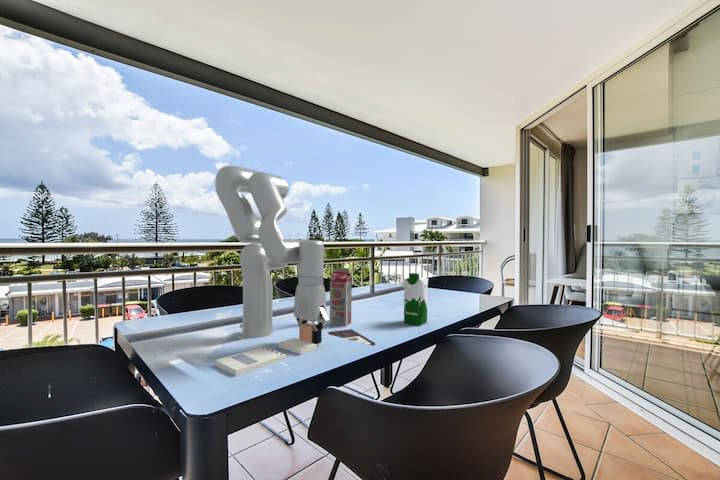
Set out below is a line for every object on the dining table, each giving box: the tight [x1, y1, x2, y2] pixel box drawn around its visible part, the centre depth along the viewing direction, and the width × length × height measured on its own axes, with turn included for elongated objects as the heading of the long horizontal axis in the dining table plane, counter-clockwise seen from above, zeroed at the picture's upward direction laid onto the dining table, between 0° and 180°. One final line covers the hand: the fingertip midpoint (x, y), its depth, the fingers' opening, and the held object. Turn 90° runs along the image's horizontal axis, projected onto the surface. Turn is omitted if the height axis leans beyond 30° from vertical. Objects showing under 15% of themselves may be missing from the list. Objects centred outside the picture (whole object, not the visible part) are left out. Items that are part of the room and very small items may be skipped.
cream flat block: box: [214, 346, 287, 377], centre depth 84 cm, size 10×14×2 cm
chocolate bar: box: [327, 328, 376, 346], centre depth 111 cm, size 9×1×18 cm
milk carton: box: [403, 272, 429, 327], centre depth 134 cm, size 9×9×20 cm
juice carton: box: [328, 267, 353, 328], centre depth 130 cm, size 7×7×22 cm
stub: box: [277, 321, 320, 356], centre depth 97 cm, size 10×9×6 cm
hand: (310, 340), depth 99 cm, fingers closed on stub, 5 cm apart
